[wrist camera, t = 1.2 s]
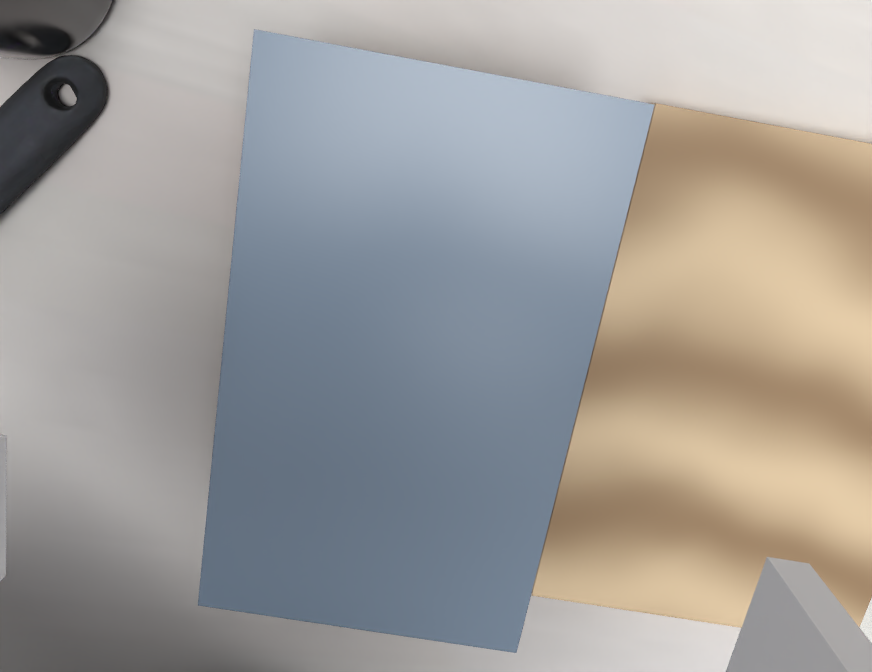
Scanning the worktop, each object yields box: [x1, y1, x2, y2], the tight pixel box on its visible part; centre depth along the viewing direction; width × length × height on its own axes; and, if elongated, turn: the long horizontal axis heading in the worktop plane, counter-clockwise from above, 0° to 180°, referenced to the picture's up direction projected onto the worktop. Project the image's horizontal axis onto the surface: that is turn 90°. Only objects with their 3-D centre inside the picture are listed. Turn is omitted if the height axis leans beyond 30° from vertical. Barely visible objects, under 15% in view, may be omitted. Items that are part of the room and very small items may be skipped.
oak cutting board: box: [532, 103, 872, 628], centre depth 30 cm, size 20×14×2 cm
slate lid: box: [198, 29, 655, 653], centre depth 24 cm, size 17×10×4 cm, turn 170°
